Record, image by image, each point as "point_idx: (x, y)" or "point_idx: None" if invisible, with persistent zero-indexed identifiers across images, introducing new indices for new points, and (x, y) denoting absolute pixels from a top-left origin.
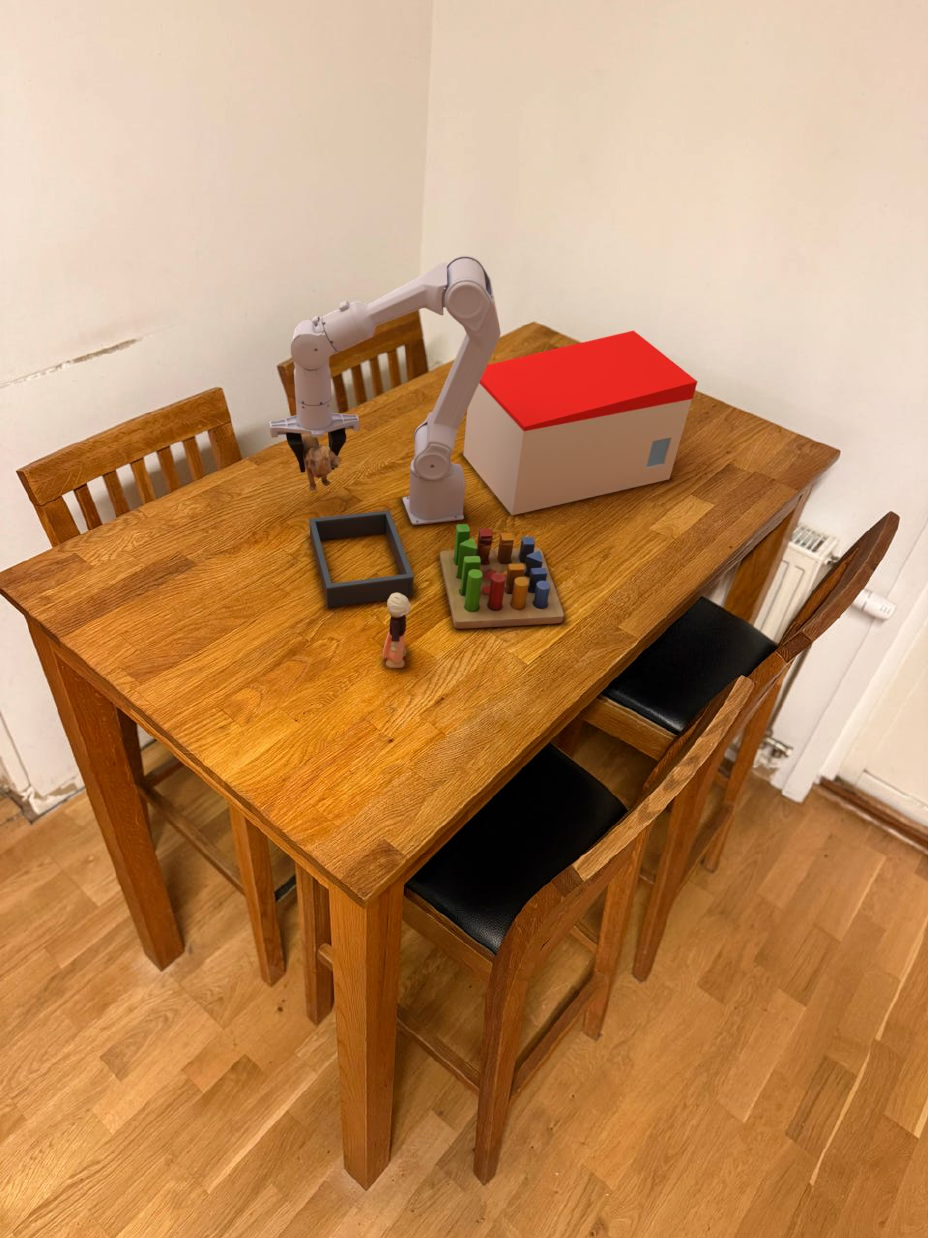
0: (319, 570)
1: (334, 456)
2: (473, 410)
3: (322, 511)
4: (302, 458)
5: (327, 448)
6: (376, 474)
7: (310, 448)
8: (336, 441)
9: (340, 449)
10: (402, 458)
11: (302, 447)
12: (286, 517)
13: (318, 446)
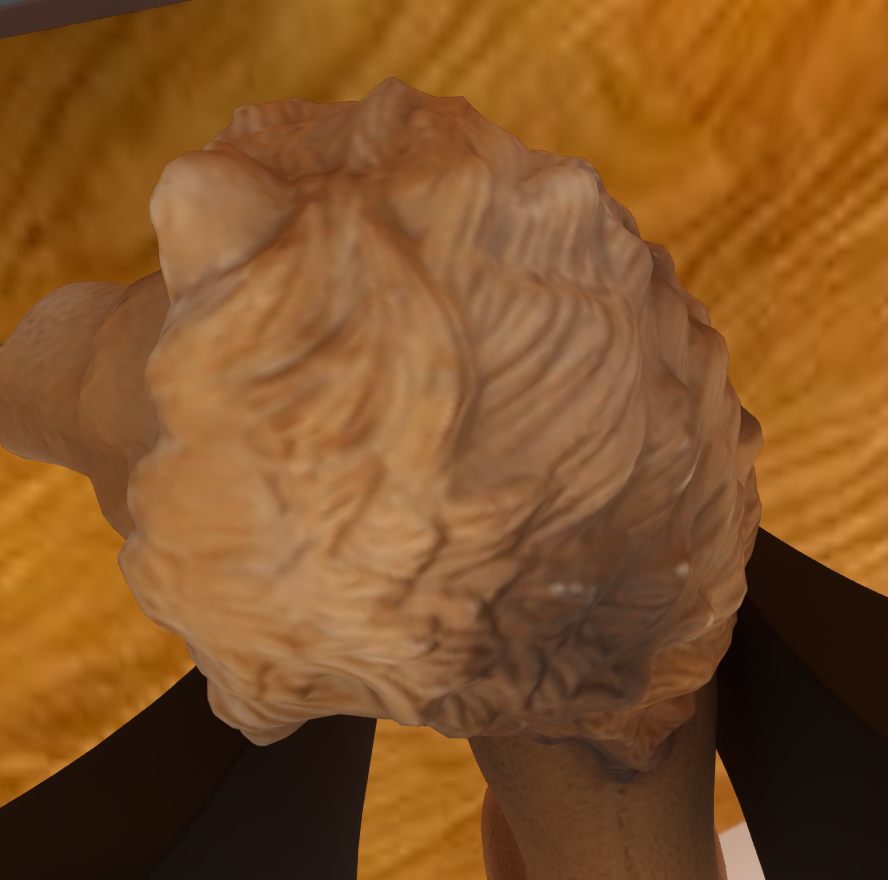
0: None
1: (80, 383)
2: None
3: None
4: (751, 575)
5: (208, 557)
6: (135, 666)
7: (689, 697)
8: (63, 875)
9: (125, 724)
10: (12, 786)
11: (884, 714)
12: (725, 238)
13: (535, 676)
